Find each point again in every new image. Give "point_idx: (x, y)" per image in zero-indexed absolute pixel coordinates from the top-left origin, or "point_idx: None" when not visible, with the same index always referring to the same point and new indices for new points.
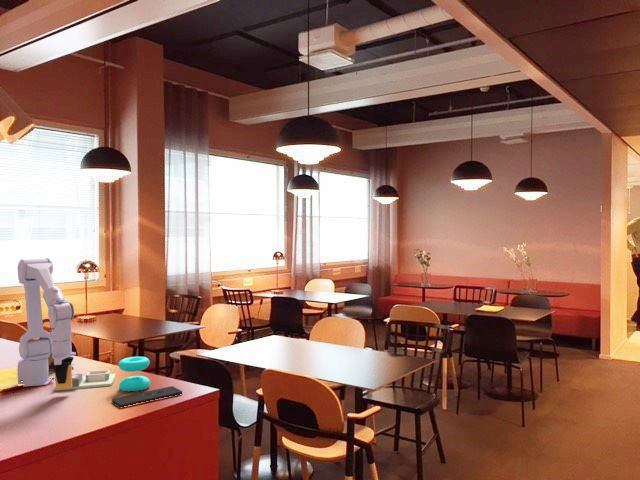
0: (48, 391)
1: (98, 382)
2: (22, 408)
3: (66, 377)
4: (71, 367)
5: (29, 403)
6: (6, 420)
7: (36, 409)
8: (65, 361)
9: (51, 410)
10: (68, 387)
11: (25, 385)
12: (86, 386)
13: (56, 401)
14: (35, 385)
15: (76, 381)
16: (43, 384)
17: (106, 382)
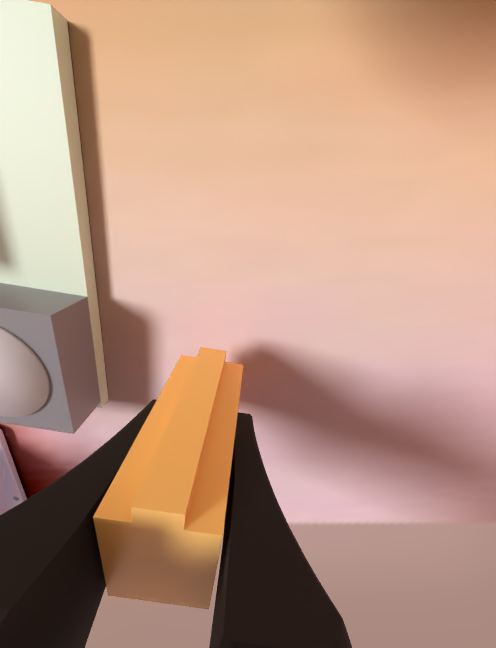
0: (112, 419)
1: (3, 152)
2: (337, 489)
3: (237, 439)
4: (163, 485)
5: (278, 472)
6: (460, 520)
7: (390, 454)
8: (56, 618)
9: (458, 409)
10: (242, 372)
11: (18, 490)
12: (86, 247)
13: (311, 392)
14: (12, 462)
15: (66, 322)
16: (3, 440)
17: (9, 69)
